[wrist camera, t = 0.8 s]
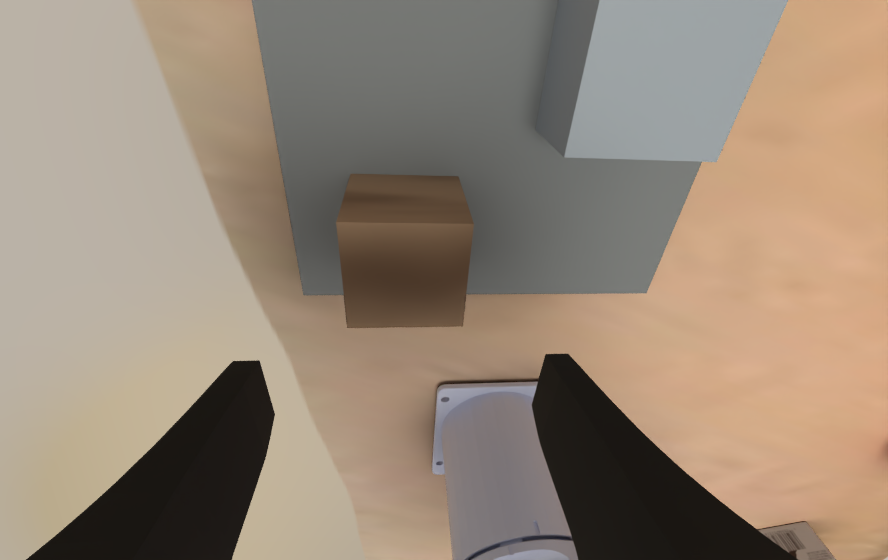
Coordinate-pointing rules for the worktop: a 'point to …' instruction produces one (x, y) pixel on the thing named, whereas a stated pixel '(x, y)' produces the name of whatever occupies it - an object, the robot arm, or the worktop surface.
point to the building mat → (455, 141)
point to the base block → (651, 75)
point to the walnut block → (404, 250)
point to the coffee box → (799, 541)
